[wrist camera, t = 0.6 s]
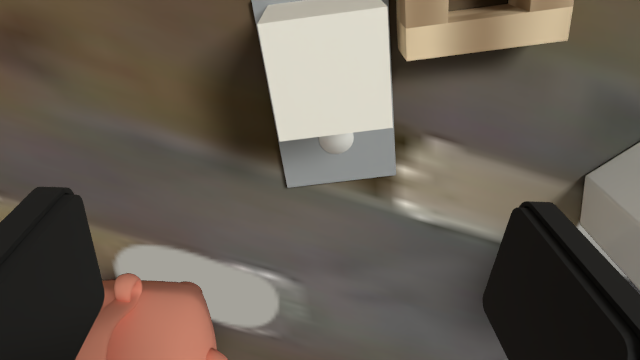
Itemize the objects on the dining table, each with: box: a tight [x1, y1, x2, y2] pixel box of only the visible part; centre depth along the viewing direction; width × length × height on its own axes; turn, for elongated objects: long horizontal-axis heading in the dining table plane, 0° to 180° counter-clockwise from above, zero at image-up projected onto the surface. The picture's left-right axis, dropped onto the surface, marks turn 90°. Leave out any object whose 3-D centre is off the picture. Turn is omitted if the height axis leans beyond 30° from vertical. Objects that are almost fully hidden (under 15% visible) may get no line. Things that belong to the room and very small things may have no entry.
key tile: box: [251, 0, 396, 188], centre depth 27 cm, size 8×13×4 cm, turn 7°
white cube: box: [257, 0, 393, 142], centre depth 25 cm, size 6×6×6 cm
